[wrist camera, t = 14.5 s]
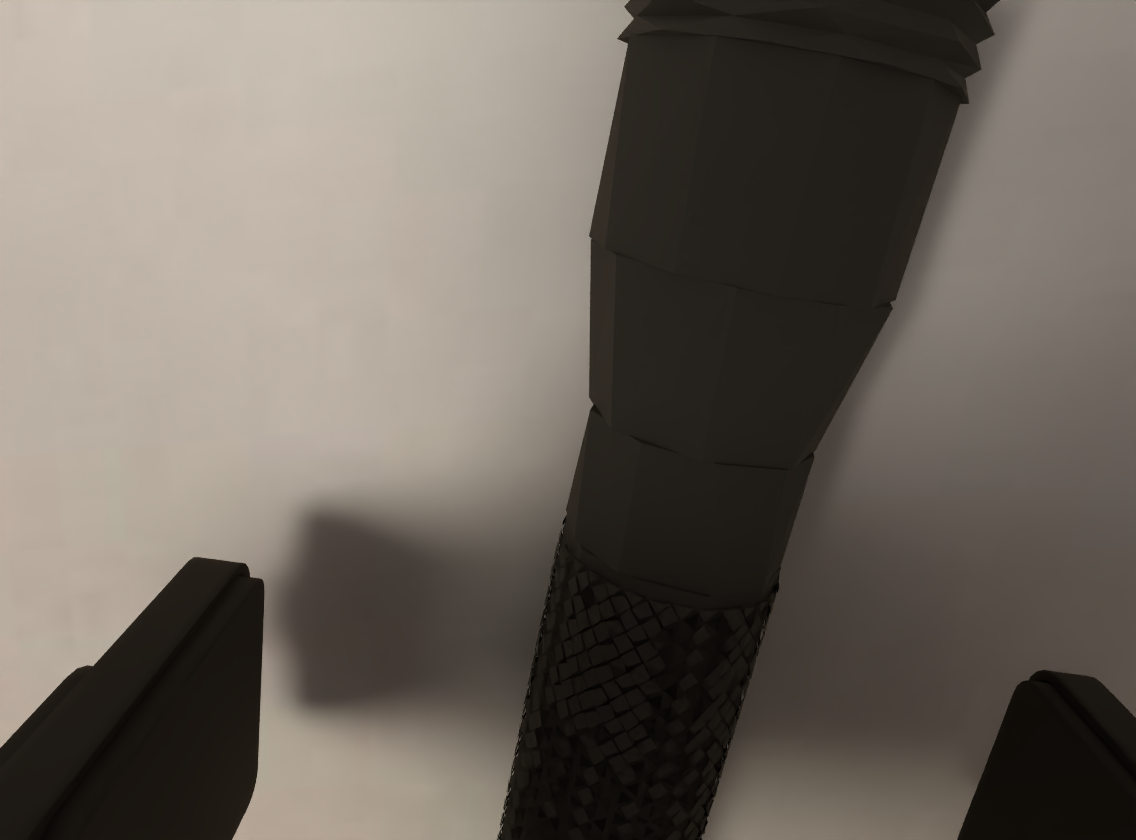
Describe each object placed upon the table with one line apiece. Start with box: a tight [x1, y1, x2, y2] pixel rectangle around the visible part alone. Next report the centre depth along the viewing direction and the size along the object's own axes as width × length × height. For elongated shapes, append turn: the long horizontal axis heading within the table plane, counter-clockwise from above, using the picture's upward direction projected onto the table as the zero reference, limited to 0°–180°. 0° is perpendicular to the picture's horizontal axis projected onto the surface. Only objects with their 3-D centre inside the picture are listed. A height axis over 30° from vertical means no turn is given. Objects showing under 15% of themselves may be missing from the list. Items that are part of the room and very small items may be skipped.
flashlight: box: [497, 0, 1000, 840], centre depth 9 cm, size 3×16×3 cm, turn 169°
